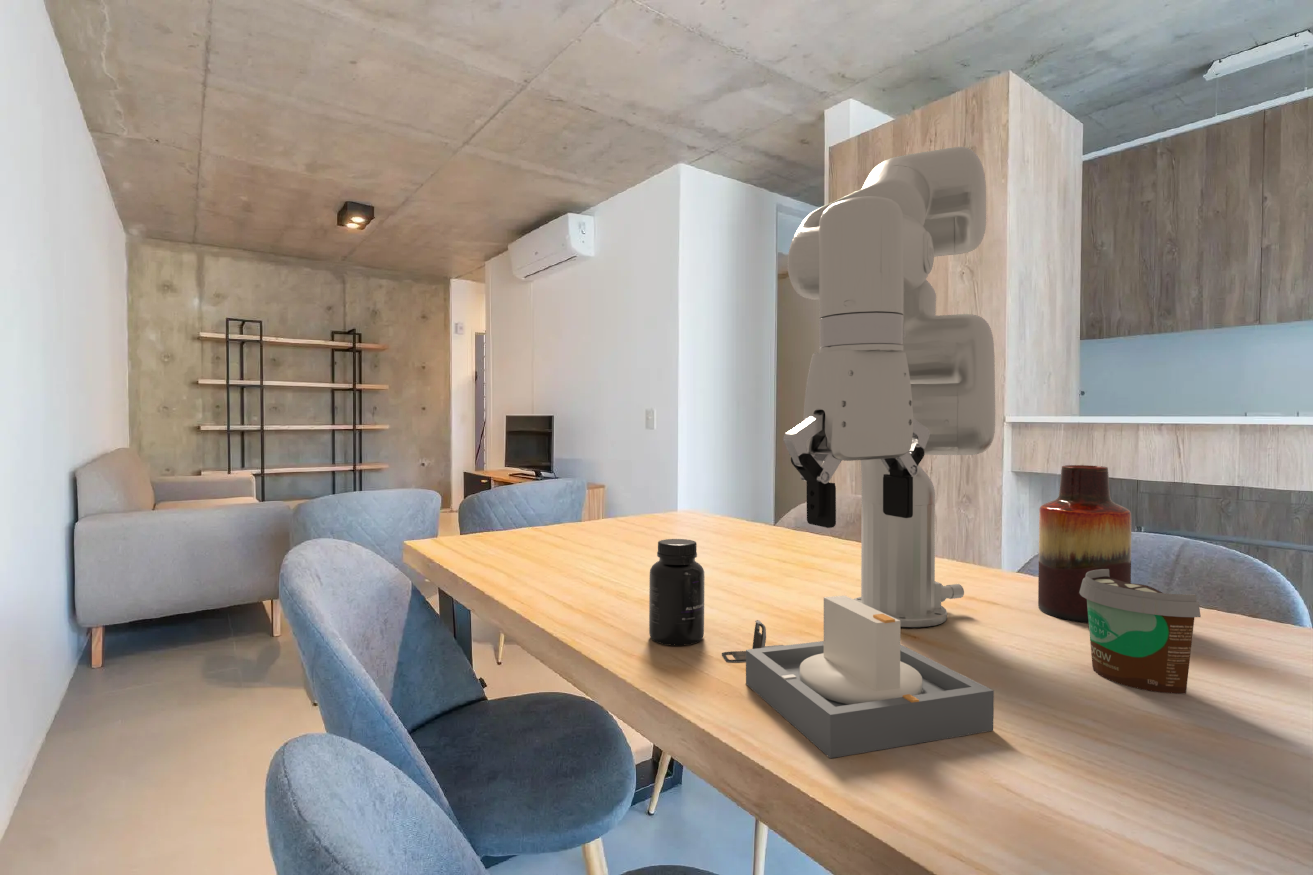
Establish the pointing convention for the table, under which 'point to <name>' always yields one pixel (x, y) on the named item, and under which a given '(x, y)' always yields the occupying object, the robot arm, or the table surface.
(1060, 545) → the vase
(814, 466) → the robot arm
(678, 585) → the supplement bottle
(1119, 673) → the food container
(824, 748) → the dial plate
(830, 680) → the dial
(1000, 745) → the table surface
